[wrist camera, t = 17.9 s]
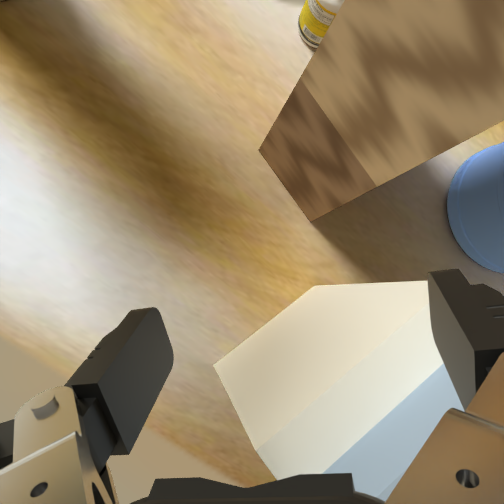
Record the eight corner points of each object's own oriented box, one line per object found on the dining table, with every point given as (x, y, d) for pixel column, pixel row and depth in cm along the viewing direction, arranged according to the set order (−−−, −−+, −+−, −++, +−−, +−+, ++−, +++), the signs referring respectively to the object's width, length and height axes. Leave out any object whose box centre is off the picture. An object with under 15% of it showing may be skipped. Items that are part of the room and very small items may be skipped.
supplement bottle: (336, 7, 50) (373, -60, 41) (342, 50, 50) (381, -8, 40) (293, 7, 49) (321, -62, 40) (299, 50, 49) (329, -9, 39)
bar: (151, 628, 18) (144, 719, 15) (532, 282, 24) (603, 280, 20) (204, 698, 19) (211, 806, 15) (572, 338, 24) (650, 347, 20)
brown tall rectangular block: (258, 149, 47) (425, -141, 15) (363, 79, 50) (678, -281, 18) (310, 222, 47) (578, 81, 16) (410, 147, 50) (802, -95, 19)
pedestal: (213, 365, 44) (255, 451, 20) (314, 285, 46) (455, 279, 23) (268, 440, 44) (375, 613, 20) (366, 357, 47) (558, 424, 23)
